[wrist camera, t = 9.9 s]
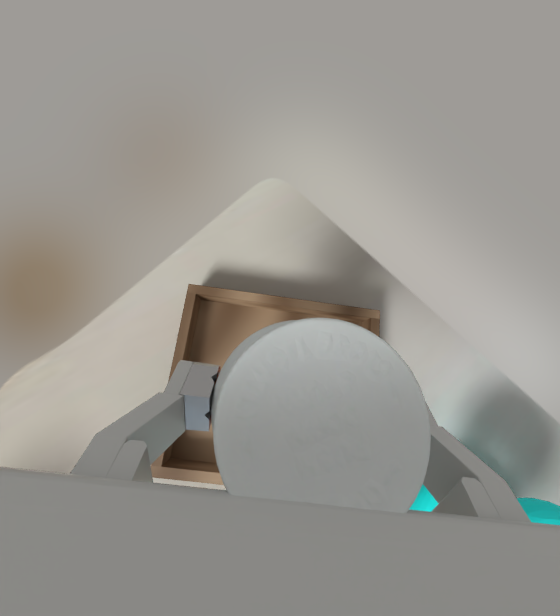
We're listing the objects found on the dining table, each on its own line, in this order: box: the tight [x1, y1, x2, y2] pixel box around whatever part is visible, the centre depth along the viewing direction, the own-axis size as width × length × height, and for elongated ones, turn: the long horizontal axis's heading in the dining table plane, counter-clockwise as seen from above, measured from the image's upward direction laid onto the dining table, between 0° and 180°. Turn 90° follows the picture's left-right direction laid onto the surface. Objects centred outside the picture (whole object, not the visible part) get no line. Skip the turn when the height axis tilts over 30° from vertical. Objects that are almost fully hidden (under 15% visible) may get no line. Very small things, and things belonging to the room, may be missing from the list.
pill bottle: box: [211, 318, 431, 513], centre depth 12 cm, size 6×6×11 cm
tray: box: [151, 284, 380, 485], centre depth 26 cm, size 18×16×3 cm
